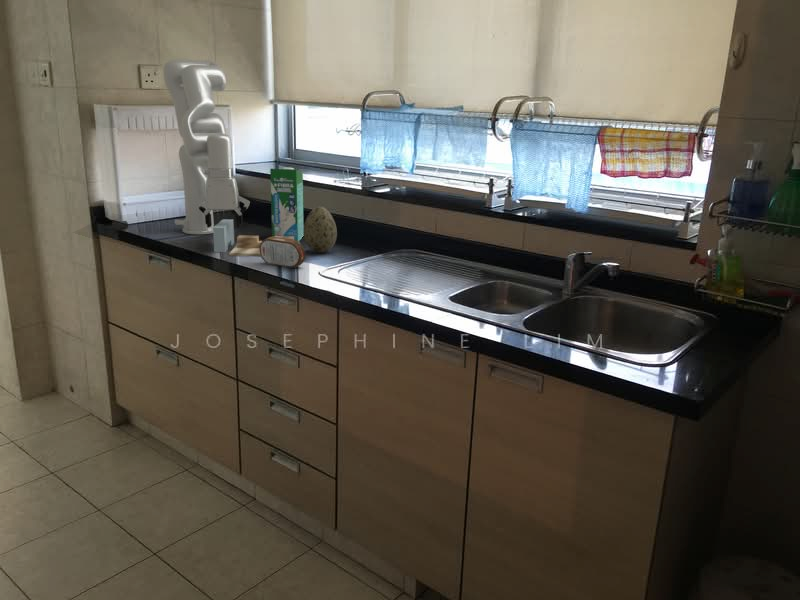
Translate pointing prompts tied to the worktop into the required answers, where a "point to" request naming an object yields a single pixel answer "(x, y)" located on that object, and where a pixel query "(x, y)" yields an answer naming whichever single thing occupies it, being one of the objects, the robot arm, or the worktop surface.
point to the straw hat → (250, 245)
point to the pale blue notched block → (223, 235)
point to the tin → (282, 252)
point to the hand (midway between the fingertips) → (224, 226)
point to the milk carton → (287, 202)
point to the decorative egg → (320, 230)
